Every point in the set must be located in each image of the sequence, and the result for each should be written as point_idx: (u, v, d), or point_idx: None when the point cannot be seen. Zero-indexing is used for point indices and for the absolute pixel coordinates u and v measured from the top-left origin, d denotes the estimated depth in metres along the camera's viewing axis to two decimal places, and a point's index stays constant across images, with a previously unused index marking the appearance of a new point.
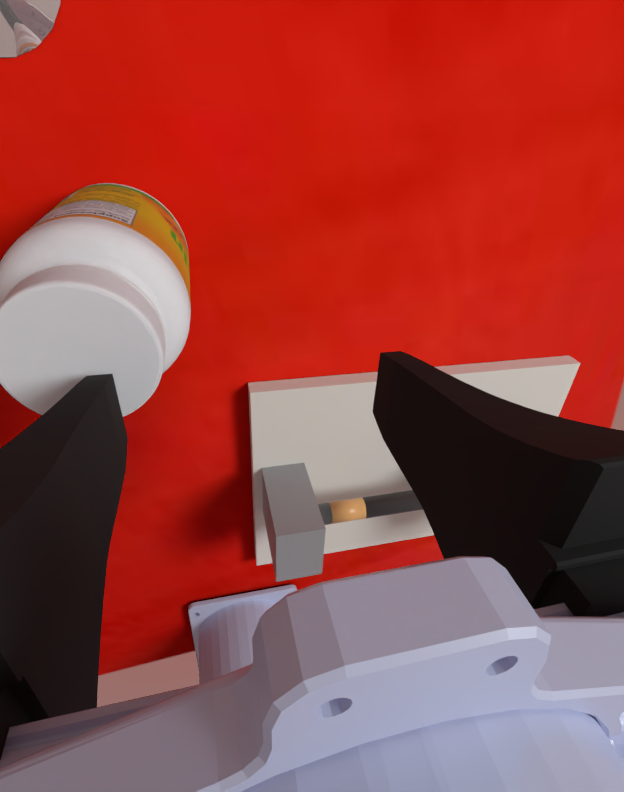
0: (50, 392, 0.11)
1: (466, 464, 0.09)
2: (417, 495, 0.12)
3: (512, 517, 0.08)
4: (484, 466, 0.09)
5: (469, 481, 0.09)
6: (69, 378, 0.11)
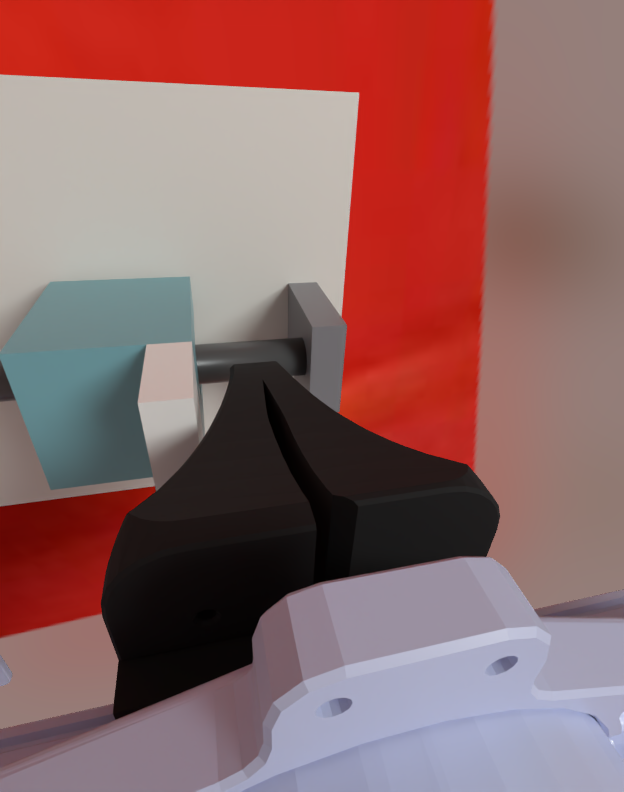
0: None
1: None
2: None
3: (315, 551, 0.07)
4: (301, 492, 0.08)
5: None
6: None
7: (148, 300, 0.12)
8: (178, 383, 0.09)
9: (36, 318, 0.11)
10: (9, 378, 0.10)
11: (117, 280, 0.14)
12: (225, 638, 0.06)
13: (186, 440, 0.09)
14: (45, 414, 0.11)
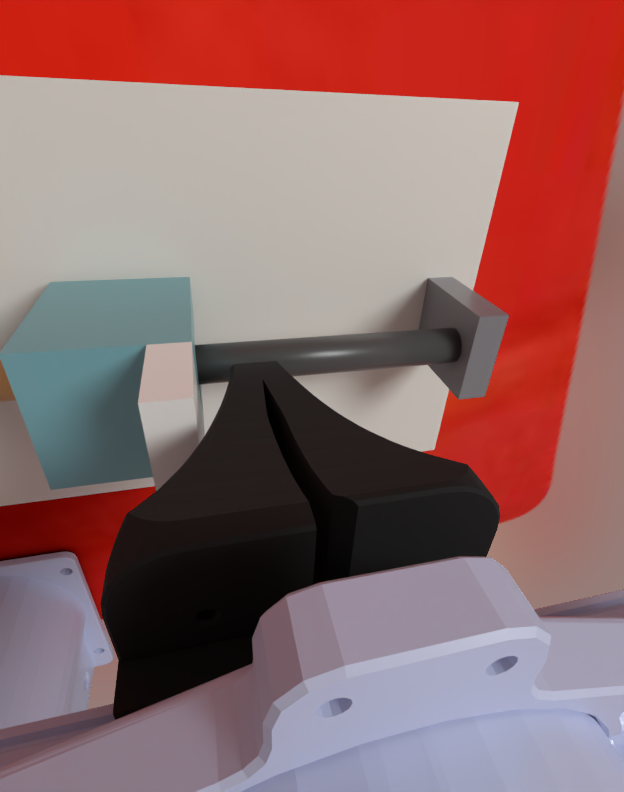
0: None
1: None
2: None
3: (314, 551, 0.07)
4: None
5: None
6: None
7: (149, 300, 0.12)
8: (178, 383, 0.09)
9: (37, 318, 0.11)
10: (9, 378, 0.10)
11: (117, 280, 0.14)
12: (225, 638, 0.06)
13: (186, 440, 0.09)
14: (45, 414, 0.11)
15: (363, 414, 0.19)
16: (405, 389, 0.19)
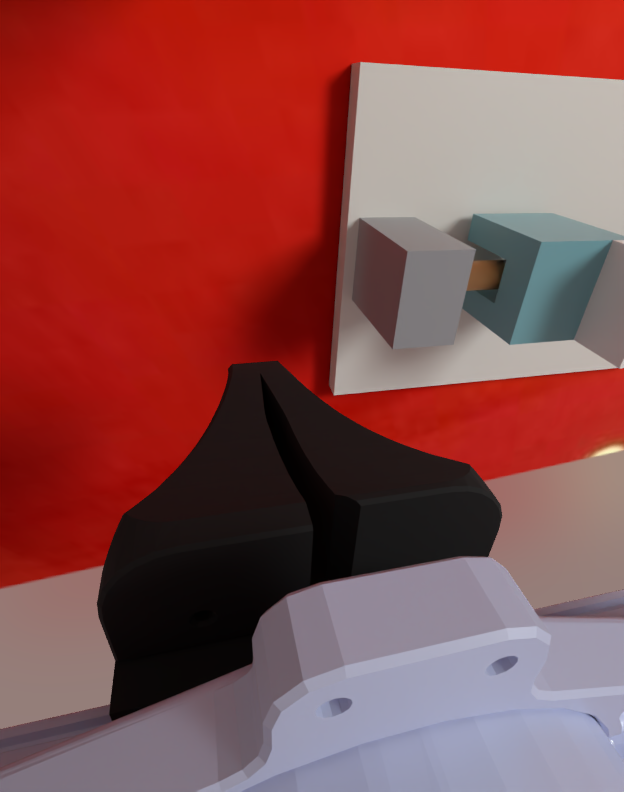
0: None
1: (296, 488, 0.08)
2: None
3: (316, 551, 0.07)
4: (303, 492, 0.08)
5: None
6: None
7: (559, 223, 0.19)
8: None
9: (517, 228, 0.17)
10: (533, 259, 0.16)
11: (513, 214, 0.20)
12: (221, 639, 0.06)
13: None
14: (539, 286, 0.17)
15: None
16: None
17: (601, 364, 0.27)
